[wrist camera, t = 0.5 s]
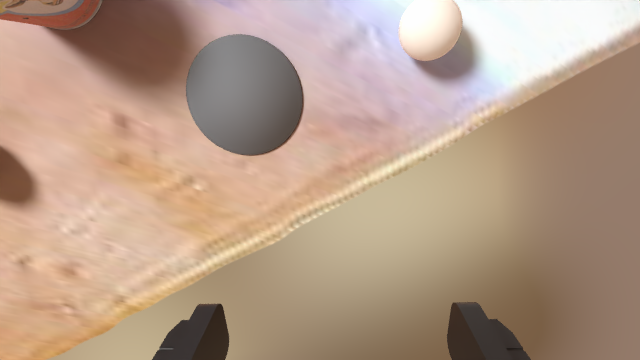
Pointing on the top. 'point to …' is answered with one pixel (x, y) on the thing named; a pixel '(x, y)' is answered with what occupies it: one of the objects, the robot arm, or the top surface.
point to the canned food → (50, 12)
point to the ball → (430, 28)
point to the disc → (244, 94)
